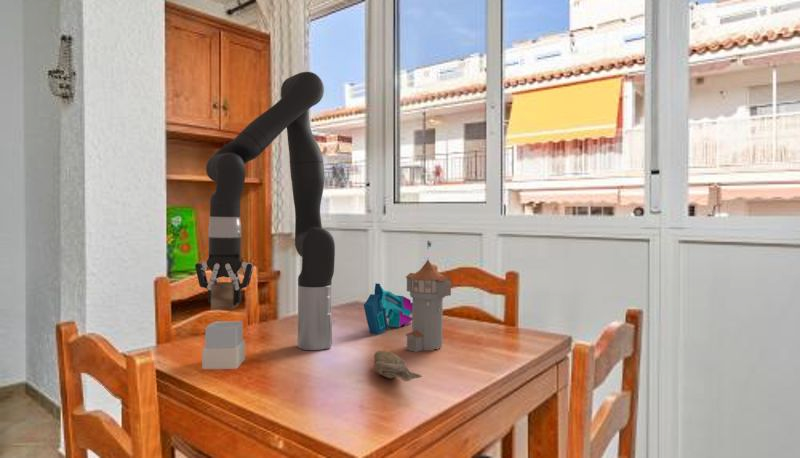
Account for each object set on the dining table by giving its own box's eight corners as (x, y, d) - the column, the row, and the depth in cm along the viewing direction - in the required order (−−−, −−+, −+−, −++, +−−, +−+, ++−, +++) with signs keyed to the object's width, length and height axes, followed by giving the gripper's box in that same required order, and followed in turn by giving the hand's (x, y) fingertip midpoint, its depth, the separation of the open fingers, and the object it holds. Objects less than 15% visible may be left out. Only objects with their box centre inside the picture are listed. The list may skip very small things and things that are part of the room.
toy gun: (408, 346, 168) (418, 303, 173) (367, 330, 148) (379, 282, 153) (398, 344, 171) (407, 302, 175) (356, 328, 151) (368, 280, 155)
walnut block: (237, 306, 125) (237, 282, 125) (232, 309, 120) (232, 284, 120) (217, 305, 124) (217, 281, 124) (210, 309, 119) (211, 284, 119)
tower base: (245, 360, 127) (245, 340, 127) (236, 369, 119) (236, 348, 119) (213, 360, 126) (212, 340, 126) (202, 370, 118) (202, 349, 118)
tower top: (242, 340, 126) (242, 321, 126) (235, 348, 119) (235, 327, 119) (214, 341, 126) (214, 321, 126) (205, 348, 119) (205, 327, 119)
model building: (457, 347, 140) (459, 240, 139) (430, 356, 131) (432, 242, 130) (420, 339, 149) (421, 239, 148) (392, 346, 141) (393, 240, 140)
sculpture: (400, 401, 99) (400, 376, 99) (362, 366, 122) (362, 345, 122) (428, 397, 101) (429, 373, 101) (386, 363, 124) (386, 343, 124)
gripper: (258, 235, 126) (257, 302, 126) (200, 234, 125) (200, 302, 126) (251, 236, 118) (250, 307, 119) (189, 235, 118) (189, 307, 118)
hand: (224, 304), depth 122 cm, fingers closed on walnut block, 5 cm apart
